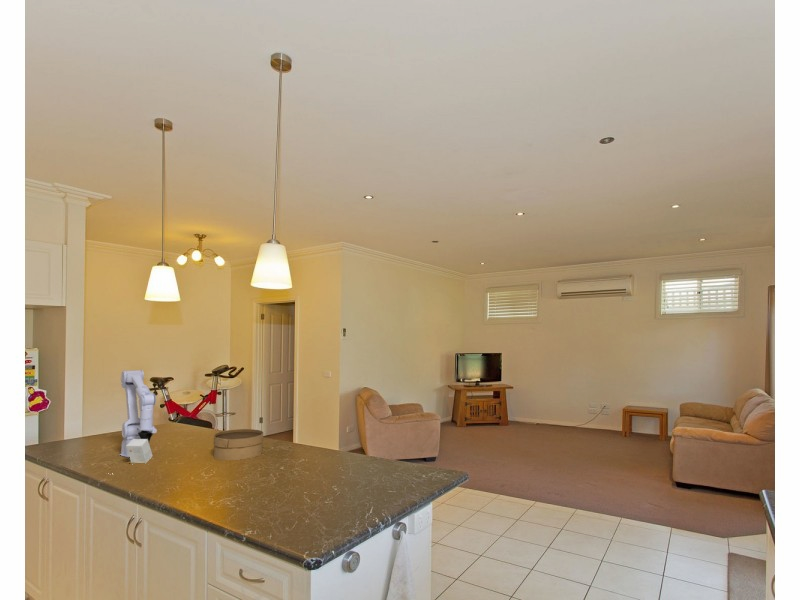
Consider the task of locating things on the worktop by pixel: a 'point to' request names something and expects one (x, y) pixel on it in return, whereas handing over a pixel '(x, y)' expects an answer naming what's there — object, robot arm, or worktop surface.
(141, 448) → the small box
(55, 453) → the worktop surface
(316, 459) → the worktop surface
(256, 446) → the steamer basket
